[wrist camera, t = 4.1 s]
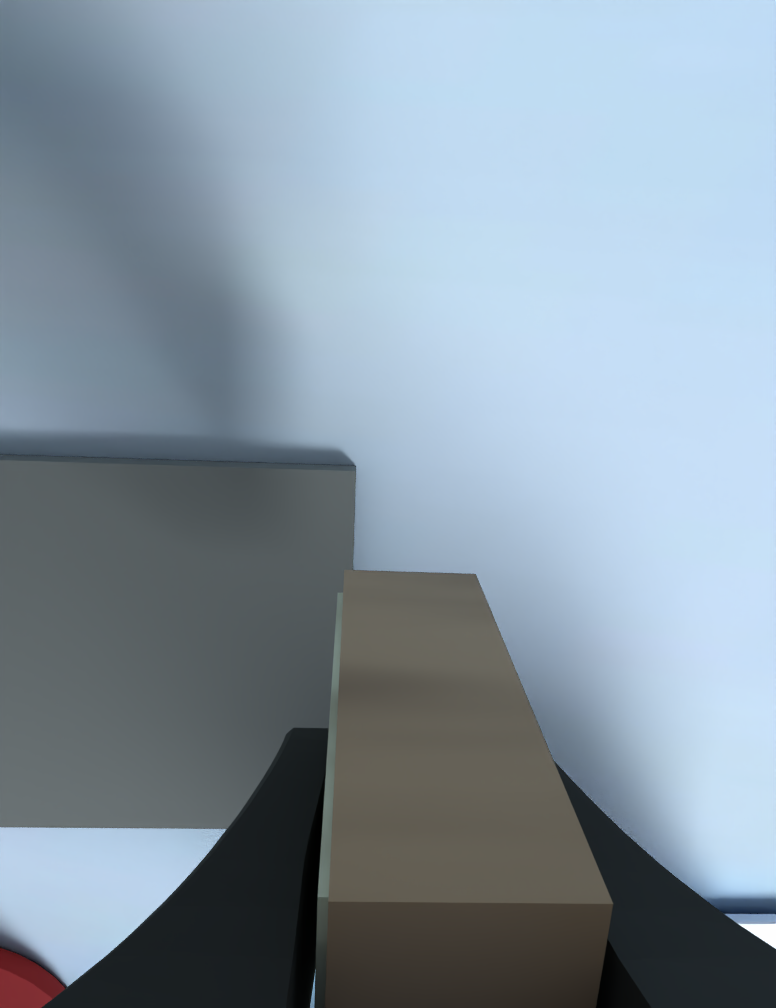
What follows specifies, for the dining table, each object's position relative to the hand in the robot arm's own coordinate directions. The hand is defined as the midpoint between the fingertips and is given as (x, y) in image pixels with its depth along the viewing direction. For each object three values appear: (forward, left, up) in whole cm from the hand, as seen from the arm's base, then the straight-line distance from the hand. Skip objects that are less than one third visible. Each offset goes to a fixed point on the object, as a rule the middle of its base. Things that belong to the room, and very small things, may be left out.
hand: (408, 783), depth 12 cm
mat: (-2, +6, -9) cm, 11 cm away
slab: (0, 0, -2) cm, 3 cm away
